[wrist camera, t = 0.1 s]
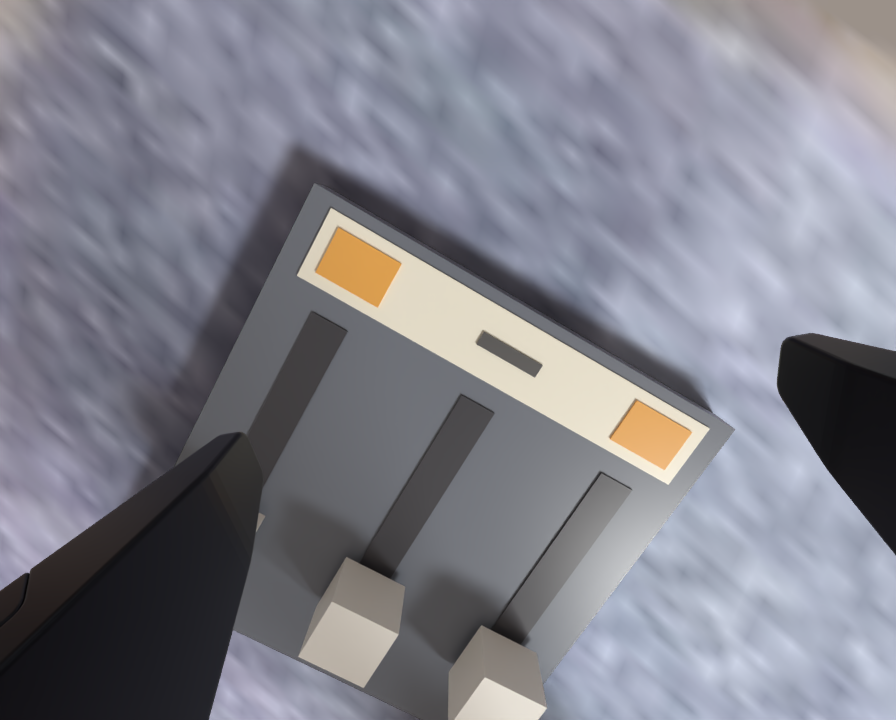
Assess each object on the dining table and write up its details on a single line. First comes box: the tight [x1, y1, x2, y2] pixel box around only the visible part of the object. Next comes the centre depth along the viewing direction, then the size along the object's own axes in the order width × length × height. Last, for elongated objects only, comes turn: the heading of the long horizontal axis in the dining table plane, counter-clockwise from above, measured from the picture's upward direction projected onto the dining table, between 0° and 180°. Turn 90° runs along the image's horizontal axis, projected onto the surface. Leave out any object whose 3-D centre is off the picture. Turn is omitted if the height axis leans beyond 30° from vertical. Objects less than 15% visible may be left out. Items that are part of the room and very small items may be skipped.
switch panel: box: [174, 183, 735, 720], centre depth 25 cm, size 20×20×2 cm
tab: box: [298, 557, 405, 688], centre depth 24 cm, size 3×3×3 cm
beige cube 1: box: [448, 625, 547, 720], centre depth 25 cm, size 3×3×3 cm
